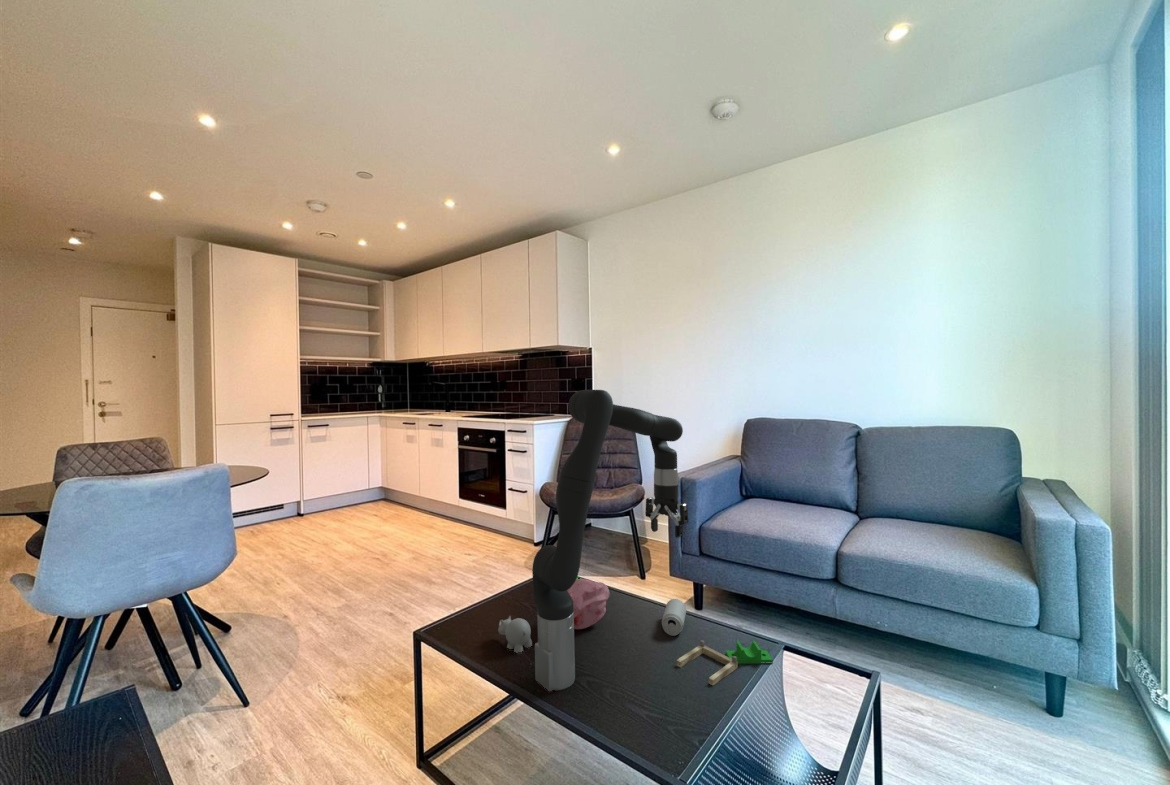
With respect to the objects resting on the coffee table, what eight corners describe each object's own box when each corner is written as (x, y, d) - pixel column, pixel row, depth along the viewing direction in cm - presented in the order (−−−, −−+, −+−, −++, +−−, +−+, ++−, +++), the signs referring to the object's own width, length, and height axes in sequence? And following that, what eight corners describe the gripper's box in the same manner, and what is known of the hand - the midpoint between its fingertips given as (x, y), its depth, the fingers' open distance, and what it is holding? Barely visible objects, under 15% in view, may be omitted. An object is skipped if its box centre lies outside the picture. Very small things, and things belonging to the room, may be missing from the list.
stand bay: (713, 688, 111) (712, 675, 111) (676, 667, 120) (676, 655, 120) (737, 669, 118) (737, 657, 118) (701, 651, 127) (701, 639, 127)
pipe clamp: (765, 640, 125) (772, 649, 120) (766, 654, 125) (772, 663, 120) (725, 641, 125) (730, 650, 120) (725, 654, 125) (730, 664, 120)
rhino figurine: (510, 633, 138) (509, 606, 138) (536, 648, 130) (535, 619, 130) (490, 644, 132) (490, 615, 132) (516, 659, 124) (516, 629, 124)
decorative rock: (581, 647, 130) (580, 595, 130) (544, 632, 138) (543, 583, 138) (616, 619, 145) (615, 573, 145) (580, 607, 153) (579, 563, 153)
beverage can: (686, 599, 145) (682, 617, 133) (686, 618, 145) (682, 638, 133) (666, 596, 147) (660, 614, 135) (666, 616, 147) (661, 635, 135)
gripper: (640, 481, 143) (640, 532, 143) (679, 487, 133) (679, 542, 133) (654, 477, 148) (654, 527, 148) (692, 483, 138) (692, 536, 138)
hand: (666, 534), depth 141 cm, fingers open, 8 cm apart
